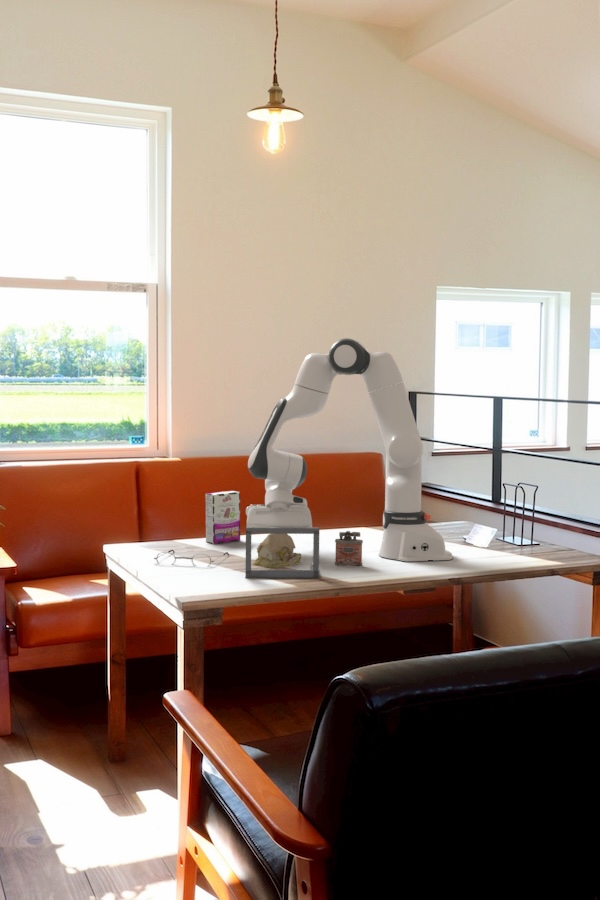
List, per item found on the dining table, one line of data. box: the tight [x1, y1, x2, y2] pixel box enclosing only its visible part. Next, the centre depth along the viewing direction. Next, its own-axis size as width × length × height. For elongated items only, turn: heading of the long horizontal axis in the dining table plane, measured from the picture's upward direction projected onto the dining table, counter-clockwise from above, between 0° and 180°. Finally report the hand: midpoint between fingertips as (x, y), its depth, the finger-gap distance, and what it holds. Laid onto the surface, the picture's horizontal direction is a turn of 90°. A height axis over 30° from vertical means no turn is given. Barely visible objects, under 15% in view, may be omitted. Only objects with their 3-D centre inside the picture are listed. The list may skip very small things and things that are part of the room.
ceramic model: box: [251, 534, 302, 568], centre depth 273 cm, size 14×11×10 cm
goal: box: [244, 526, 320, 579], centre depth 258 cm, size 20×11×14 cm, turn 93°
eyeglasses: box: [153, 549, 230, 567], centre depth 277 cm, size 18×19×4 cm
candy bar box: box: [204, 490, 241, 545], centre depth 307 cm, size 11×5×16 cm, turn 131°
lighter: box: [334, 530, 364, 567], centre depth 271 cm, size 8×3×10 cm, turn 82°
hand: (279, 541), depth 282 cm, fingers closed
